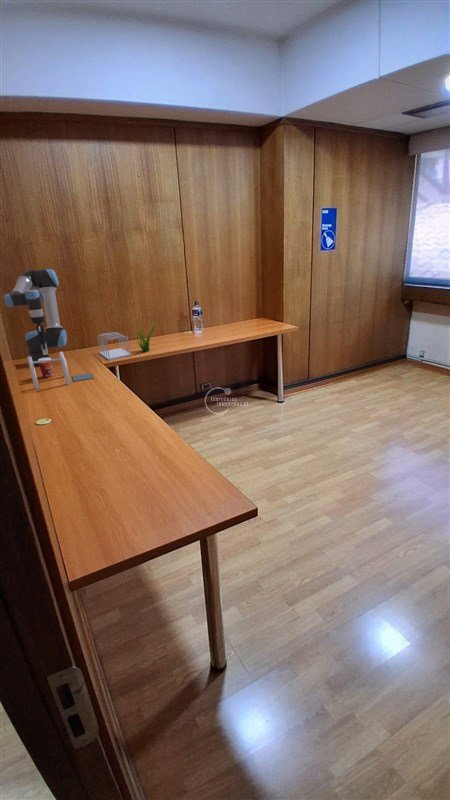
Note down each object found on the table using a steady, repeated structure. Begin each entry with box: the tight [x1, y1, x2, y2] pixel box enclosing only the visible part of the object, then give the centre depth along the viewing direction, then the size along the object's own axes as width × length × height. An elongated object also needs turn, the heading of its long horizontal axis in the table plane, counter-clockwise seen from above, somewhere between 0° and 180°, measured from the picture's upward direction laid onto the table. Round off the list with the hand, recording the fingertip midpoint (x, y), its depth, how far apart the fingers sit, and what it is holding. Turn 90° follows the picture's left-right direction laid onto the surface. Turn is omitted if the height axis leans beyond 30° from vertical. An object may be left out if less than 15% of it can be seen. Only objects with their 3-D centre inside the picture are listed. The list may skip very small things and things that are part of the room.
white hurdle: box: [26, 351, 72, 390], centre depth 239 cm, size 20×21×16 cm
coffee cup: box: [38, 357, 55, 379], centre depth 253 cm, size 8×8×15 cm
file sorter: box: [97, 331, 133, 361], centre depth 295 cm, size 25×17×16 cm
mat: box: [72, 372, 95, 383], centre depth 248 cm, size 12×12×1 cm
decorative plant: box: [133, 309, 157, 353], centre depth 299 cm, size 18×30×15 cm
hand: (45, 353), depth 250 cm, fingers open, 5 cm apart
